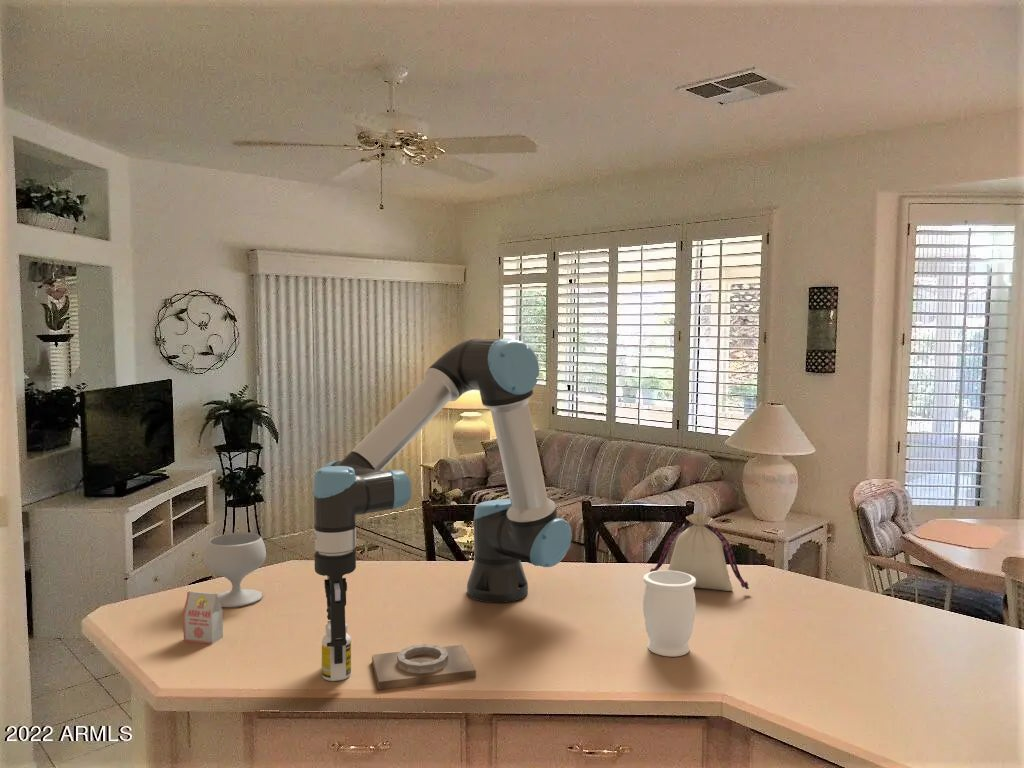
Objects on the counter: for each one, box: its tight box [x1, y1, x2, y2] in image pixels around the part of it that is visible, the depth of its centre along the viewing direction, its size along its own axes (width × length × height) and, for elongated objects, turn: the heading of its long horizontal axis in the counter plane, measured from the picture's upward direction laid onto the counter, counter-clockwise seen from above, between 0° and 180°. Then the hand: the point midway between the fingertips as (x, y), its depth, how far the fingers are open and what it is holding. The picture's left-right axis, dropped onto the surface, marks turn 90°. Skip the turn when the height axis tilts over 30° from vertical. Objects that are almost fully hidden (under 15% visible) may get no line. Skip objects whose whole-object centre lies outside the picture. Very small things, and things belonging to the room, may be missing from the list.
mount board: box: [371, 643, 477, 691], centre depth 145 cm, size 18×12×3 cm, turn 106°
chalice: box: [203, 531, 267, 608], centre depth 182 cm, size 14×14×15 cm
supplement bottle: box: [321, 621, 352, 682], centre depth 142 cm, size 5×5×10 cm
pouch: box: [649, 512, 750, 592], centre depth 192 cm, size 25×8×19 cm, turn 72°
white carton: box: [182, 590, 224, 645], centre depth 159 cm, size 4×7×10 cm, turn 77°
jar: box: [642, 569, 697, 658], centre depth 155 cm, size 11×10×15 cm
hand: (336, 665), depth 143 cm, fingers open, 10 cm apart
